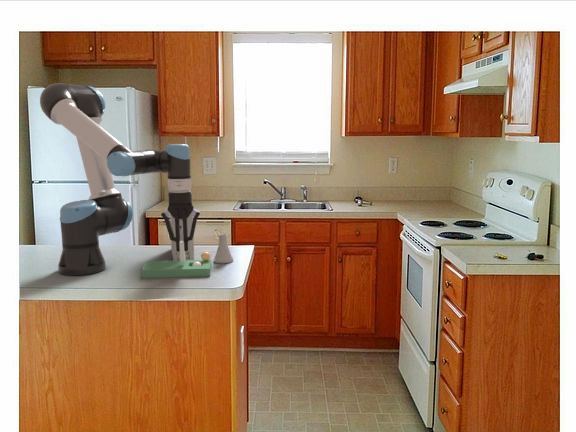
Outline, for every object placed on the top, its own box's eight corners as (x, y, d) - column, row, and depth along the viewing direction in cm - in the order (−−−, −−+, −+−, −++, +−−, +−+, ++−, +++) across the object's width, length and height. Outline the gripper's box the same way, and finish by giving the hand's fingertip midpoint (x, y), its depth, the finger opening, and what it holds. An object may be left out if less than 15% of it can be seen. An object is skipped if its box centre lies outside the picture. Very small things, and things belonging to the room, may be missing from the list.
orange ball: (201, 262, 182) (200, 253, 181) (201, 259, 185) (201, 250, 184) (210, 261, 182) (210, 252, 182) (210, 259, 185) (210, 250, 185)
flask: (209, 262, 191) (209, 235, 189) (219, 258, 197) (218, 232, 196) (227, 264, 188) (227, 237, 187) (236, 259, 195) (236, 233, 193)
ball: (190, 269, 177) (194, 261, 177) (190, 267, 180) (195, 259, 180) (198, 273, 178) (203, 265, 177) (198, 271, 181) (203, 263, 180)
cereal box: (194, 260, 194) (192, 193, 190) (173, 262, 192) (170, 193, 188) (190, 248, 214) (188, 186, 210) (171, 249, 213) (169, 187, 208)
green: (141, 277, 172) (141, 270, 171) (147, 268, 183) (147, 261, 183) (209, 275, 174) (209, 268, 173) (211, 266, 186) (211, 259, 185)
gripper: (158, 192, 170) (161, 264, 174) (199, 192, 171) (201, 262, 175) (161, 190, 177) (164, 258, 181) (200, 189, 178) (203, 257, 182)
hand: (182, 260), depth 178 cm, fingers closed
